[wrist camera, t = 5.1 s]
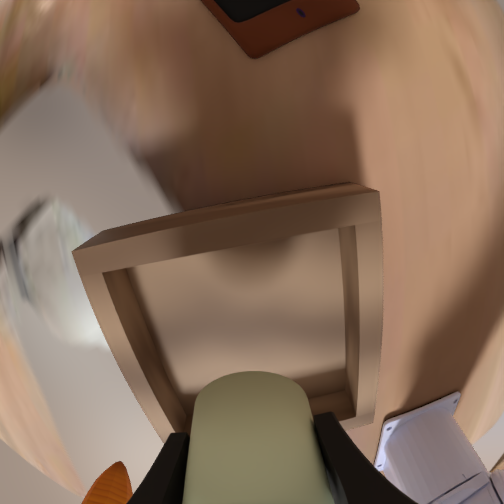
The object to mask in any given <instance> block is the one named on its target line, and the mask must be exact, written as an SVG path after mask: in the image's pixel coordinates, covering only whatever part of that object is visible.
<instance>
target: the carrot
mask: <svg viewBox="0 0 504 504" xmlns="http://www.w3.org/2000/svg"><path fill="white" fill-rule="evenodd" d="M132 495H133V493H132V488H131V483H130V479H129V476H128V473H127V469H126V467H125V466H124V464H123V463H122V462H121V461H119V462H116V463H114V464H113V465H112V466H110V467H109V468H108V469H107V470H105V471H104V472H103V473H102V474H101V475H100V476H99V477H98V478H97V479H96V481H95V482H94V484H93V485H92V487H91V488H90V490H89V491H88V493H87V495H86V496H85V498H84V500H83V502H82V504H126V503H127V502H128V501H129V499H130V498H131V497H132Z"/></svg>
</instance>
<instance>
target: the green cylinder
mask: <svg viewBox="0 0 504 504" xmlns="http://www.w3.org/2000/svg"><path fill="white" fill-rule="evenodd" d="M182 504H334V500H333V496H332V492H331V488H330V484H329V480H328V476H327V472H326V468H325V464H324V460H323V456H322V452H321V448H320V445H319V441H318V437H317V433H316V429H315V425H314V421H313V417H312V413H311V409H310V406H309V402H308V398H307V395H306V393H305V392H304V390H303V389H302V388H301V387H300V385H298V384H297V383H296V382H295V381H293V380H291V379H289V378H287V377H285V376H282V375H279V374H276V373H271V372H265V371H244V372H237V373H232V374H229V375H225V376H223V377H220V378H218V379H216V380H214V381H212V382H211V383H209V384H208V385H206V386H205V387H204V388H203V389H202V390H201V391H200V393H199V394H198V396H197V398H196V401H195V406H194V413H193V420H192V427H191V435H190V443H189V451H188V459H187V467H186V475H185V484H184V493H183V502H182Z"/></svg>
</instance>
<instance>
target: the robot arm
mask: <svg viewBox="0 0 504 504" xmlns="http://www.w3.org/2000/svg"><path fill="white" fill-rule="evenodd" d="M460 396H461V394H460V393H459V392H455V393H453V394H451V395H448V396H446V397H444V398H442V399H439V400H437V401H435V402H432V403H430V404H428V405H425V406H423V407H420V408H418V409H415V410H413V411H410V412H407V413H405V414H402V415H399V416H397V417H394V418H391V419H388V420H386V421H385V422H384V424H383V428H382V433H381V437H380V442H379V447H378V451H377V455H376V459H375V463H374V466H373V465H372V464H371V463H370V461H369V460H368V459H367V458H366V457H365V456H364V455H363V453H362V452H361V451H360V450H359V449H358V448H357V446H356V445H355V444H354V443H353V441H352V440H351V439H350V437H349V436H348V434H347V433H346V432H345V430H344V429H343V427H342V426H341V424H340V423H339V421H338V419H337V418H336V416H335V414H334V412H331V411H330V412H326V413H321V414H317V415H313V416H314V425H315V429H316V433H317V437H318V441H319V445H320V448H321V452H322V456H323V460H324V464H325V468H326V472H327V476H328V480H329V484H330V488H331V492H332V496H333V500H334V504H504V470H499V469H496V470H495V471H494V472H492V473H491V472H488V471H487V470H486V468H485V466H484V464H483V463H482V461H481V460H480V458H479V456H478V455H477V453H476V452H475V450H474V448H473V447H472V445H471V444H470V442H469V440H468V439H467V437H466V436H465V434H464V433H463V431H462V430H461V428H460V427H459V425H458V423H457V422H456V420H455V419H454V417H453V414H454V412H455V409H456V406H457V404H458V401H459V399H460ZM189 443H190V437H189V435H188V433H187V432H178V433H170V435H169V436H168V438H167V440H166V442H165V444H164V446H163V448H162V449H161V451H160V453H159V455H158V457H157V458H156V460H155V462H154V463H153V465H152V467H151V469H150V470H149V472H148V473H147V475H146V477H145V478H144V480H143V481H142V483H141V484H140V485H139V487H138V488H137V490H136V491H135V493H134V494H133V495H132V497H131V498H130V499H129V501H128V502H127V503H126V504H182V502H183V493H184V484H185V475H186V467H187V459H188V451H189ZM381 470H383V471H384V474H385V476H386V478H385V477H384V476H383V475H382V474H381V473H380V472H379V471H381Z"/></svg>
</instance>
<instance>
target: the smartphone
mask: <svg viewBox="0 0 504 504" xmlns="http://www.w3.org/2000/svg"><path fill="white" fill-rule="evenodd" d="M201 1H202V3H203V4H204V5H205V6H206V7H207V8H208V9H209V10H210V11H211V13H212V14H213V15H214V16H215V17H216V18H217V19H218V21H219V22H220V23H221V24H222V25H223V26H224V27H225V29H226V30H227V31H228V32H229V33H230V35H231V36H232V37H233V38H234V39H235V40H236V42H237V43H238V44H239V45H240V46H241V48H242V49H243V50H244V51H245V53H246V54H247V55H248V56H249V57H251V58H259V57H261V56H263V55H265V54H267V53H269V52H271V51H273V50H275V49H277V48H279V47H280V46H282V45H284V44H286V43H288V42H290V41H292V40H294V39H296V38H299V37H301V36H303V35H305V34H307V33H309V32H311V31H314V30H316V29H318V28H320V27H323V26H325V25H327V24H330V23H332V22H334V21H337V20H339V19H342V18H344V17H347V16H349V15H352V14H354V13H356V12H358V11H359V9H360V7H359V4H358V3H357V1H356V0H201Z"/></svg>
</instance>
